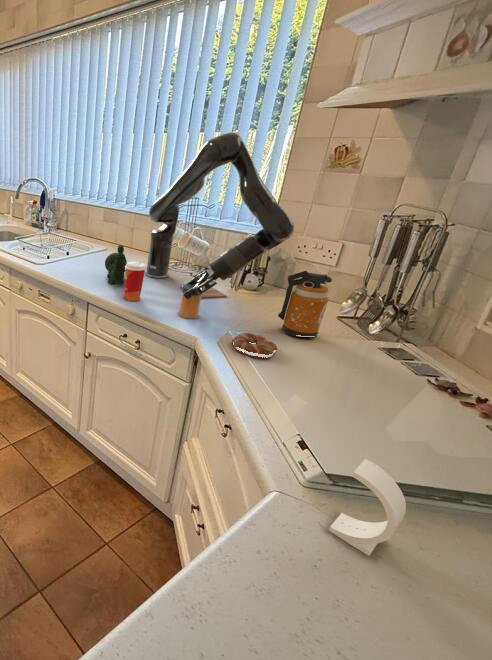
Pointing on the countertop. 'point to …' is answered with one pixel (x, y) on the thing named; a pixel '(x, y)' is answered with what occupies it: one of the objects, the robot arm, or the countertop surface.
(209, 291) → the mat
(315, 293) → the canister
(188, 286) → the lid
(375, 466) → the headphone stand
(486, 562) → the countertop surface
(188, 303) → the jar
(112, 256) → the toy figurine
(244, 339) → the pretzel
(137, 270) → the paper cup
